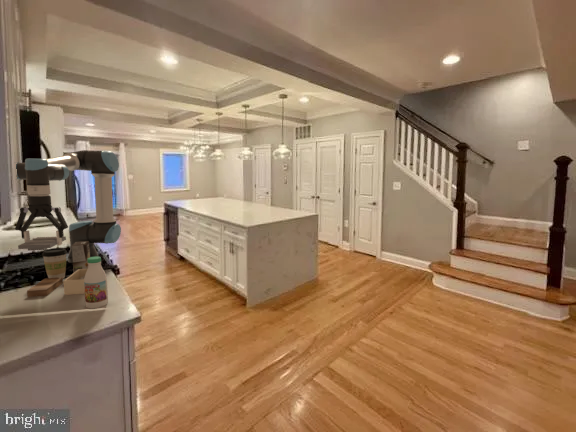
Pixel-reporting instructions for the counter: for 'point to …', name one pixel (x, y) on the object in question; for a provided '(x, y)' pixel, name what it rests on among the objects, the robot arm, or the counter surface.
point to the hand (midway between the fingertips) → (43, 245)
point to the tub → (75, 283)
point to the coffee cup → (55, 262)
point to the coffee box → (80, 255)
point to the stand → (45, 287)
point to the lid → (40, 243)
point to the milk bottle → (95, 284)
